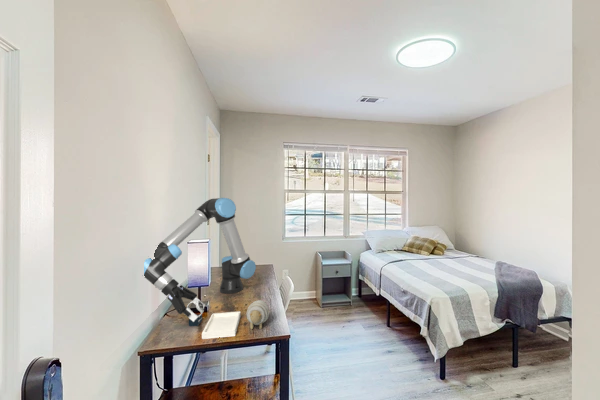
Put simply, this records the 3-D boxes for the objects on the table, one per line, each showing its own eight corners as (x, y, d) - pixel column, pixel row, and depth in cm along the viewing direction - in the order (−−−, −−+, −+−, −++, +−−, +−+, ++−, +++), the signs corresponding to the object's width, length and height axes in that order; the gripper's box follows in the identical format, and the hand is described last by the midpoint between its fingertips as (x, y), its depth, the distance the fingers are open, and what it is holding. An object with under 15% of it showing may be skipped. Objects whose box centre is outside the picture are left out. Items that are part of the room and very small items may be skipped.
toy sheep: (243, 333, 112) (243, 308, 112) (250, 317, 129) (250, 295, 129) (267, 333, 112) (266, 307, 113) (271, 316, 129) (270, 294, 129)
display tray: (212, 318, 129) (212, 313, 129) (240, 316, 130) (240, 311, 130) (201, 339, 109) (201, 333, 109) (235, 336, 110) (234, 330, 111)
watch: (201, 325, 121) (201, 302, 121) (185, 326, 121) (184, 303, 121) (206, 320, 127) (205, 298, 127) (190, 320, 127) (189, 298, 127)
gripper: (171, 282, 135) (201, 308, 136) (148, 299, 110) (185, 331, 111) (181, 271, 135) (211, 298, 137) (161, 286, 111) (197, 318, 112)
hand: (199, 313), depth 124 cm, fingers open, 13 cm apart
